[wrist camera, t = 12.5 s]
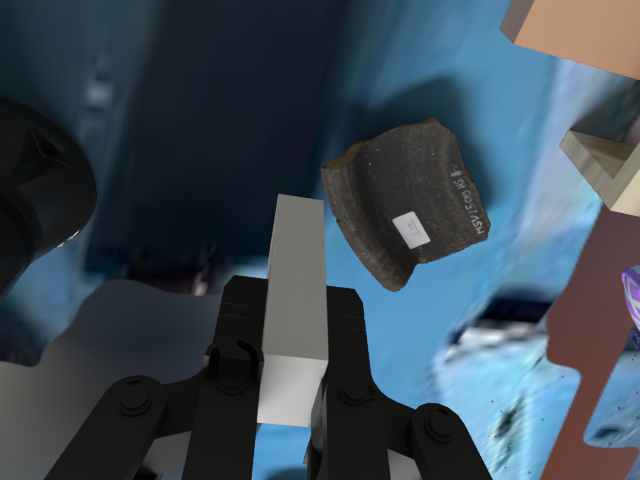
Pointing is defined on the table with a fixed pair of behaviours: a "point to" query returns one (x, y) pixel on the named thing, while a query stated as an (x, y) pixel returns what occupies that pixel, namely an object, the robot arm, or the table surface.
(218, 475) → the robot arm
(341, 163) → the pottery fragment
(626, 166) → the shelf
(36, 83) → the table surface
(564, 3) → the tile
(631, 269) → the pencil case
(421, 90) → the table surface
